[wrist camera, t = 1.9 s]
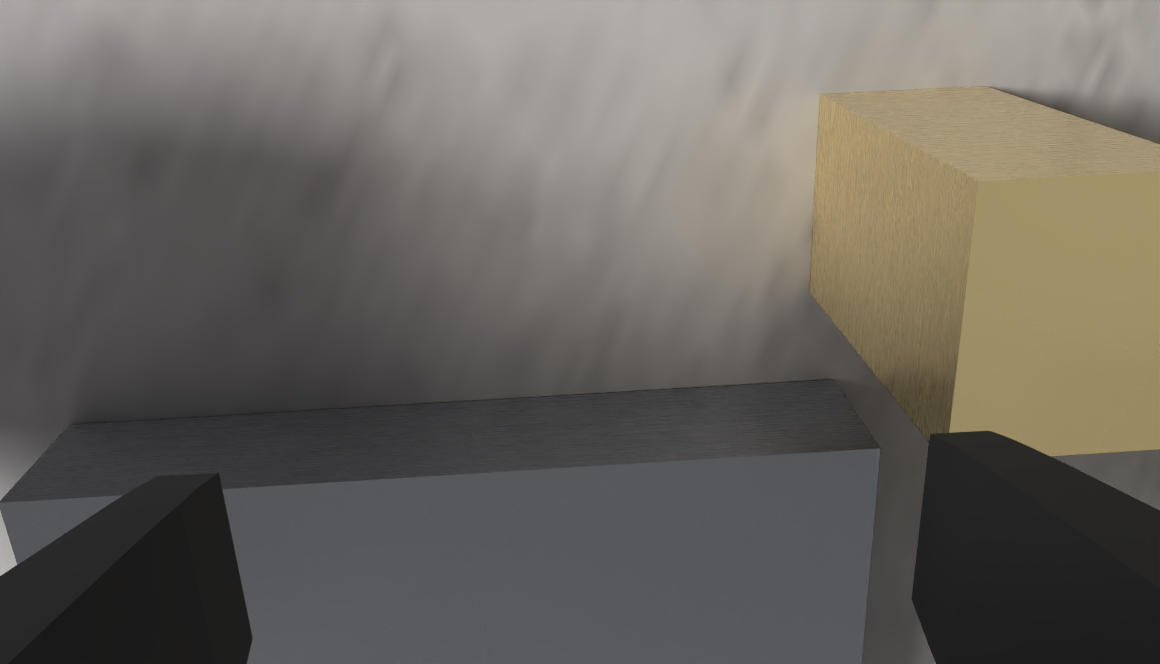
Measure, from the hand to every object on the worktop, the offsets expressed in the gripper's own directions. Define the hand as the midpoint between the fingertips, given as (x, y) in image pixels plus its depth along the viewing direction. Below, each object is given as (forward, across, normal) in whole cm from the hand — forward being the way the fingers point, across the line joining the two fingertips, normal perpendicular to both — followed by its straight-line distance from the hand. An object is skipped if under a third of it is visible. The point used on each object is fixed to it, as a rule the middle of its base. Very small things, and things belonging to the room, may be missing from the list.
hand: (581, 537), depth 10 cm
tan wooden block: (+10, -7, -1) cm, 12 cm away
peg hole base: (+10, +2, +11) cm, 15 cm away
